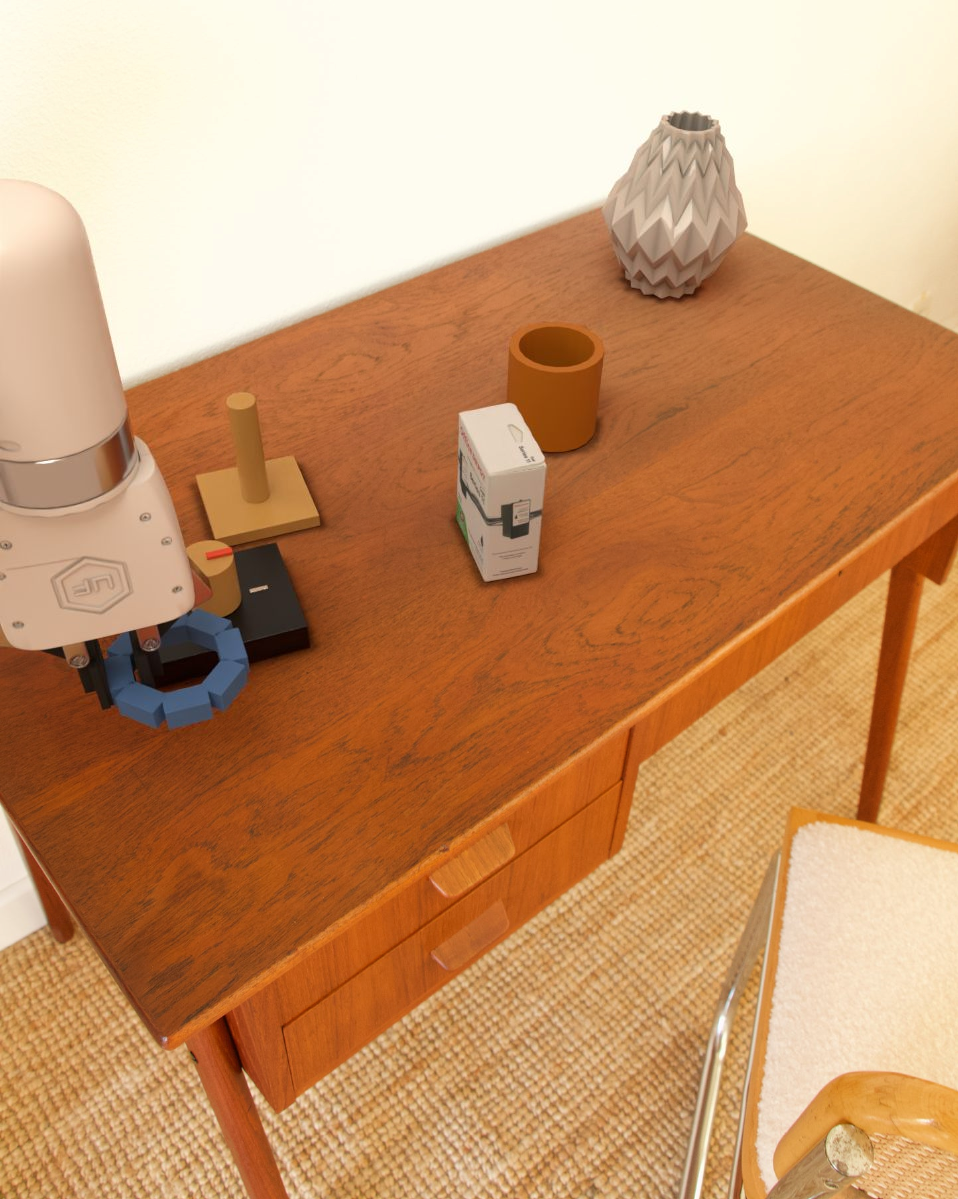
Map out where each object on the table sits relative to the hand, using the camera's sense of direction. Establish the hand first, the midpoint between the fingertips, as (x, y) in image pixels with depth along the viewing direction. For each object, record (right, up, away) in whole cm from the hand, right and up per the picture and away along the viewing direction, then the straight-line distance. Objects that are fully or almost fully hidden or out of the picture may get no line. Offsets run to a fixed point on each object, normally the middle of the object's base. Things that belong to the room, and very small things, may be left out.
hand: (126, 685), depth 63 cm
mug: (+30, +23, +38) cm, 54 cm away
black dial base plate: (+1, +4, +18) cm, 18 cm away
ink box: (+23, +10, +25) cm, 36 cm away
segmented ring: (+3, +1, +1) cm, 3 cm away
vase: (+44, +43, +58) cm, 84 cm away
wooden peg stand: (+2, +14, +28) cm, 31 cm away
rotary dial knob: (+1, +5, +16) cm, 17 cm away
